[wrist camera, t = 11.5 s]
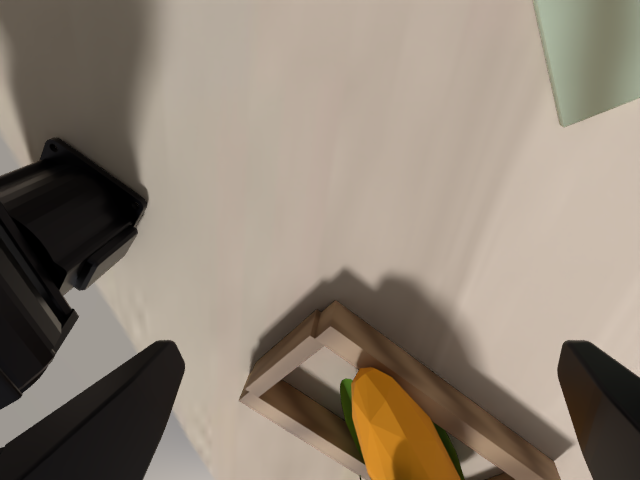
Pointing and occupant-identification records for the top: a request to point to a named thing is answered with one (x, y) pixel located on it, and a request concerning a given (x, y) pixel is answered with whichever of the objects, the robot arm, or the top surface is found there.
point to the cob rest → (416, 380)
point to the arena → (590, 54)
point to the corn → (395, 431)
